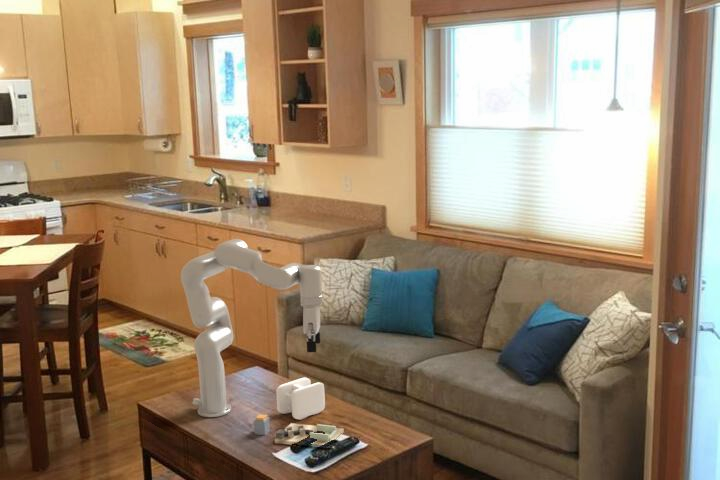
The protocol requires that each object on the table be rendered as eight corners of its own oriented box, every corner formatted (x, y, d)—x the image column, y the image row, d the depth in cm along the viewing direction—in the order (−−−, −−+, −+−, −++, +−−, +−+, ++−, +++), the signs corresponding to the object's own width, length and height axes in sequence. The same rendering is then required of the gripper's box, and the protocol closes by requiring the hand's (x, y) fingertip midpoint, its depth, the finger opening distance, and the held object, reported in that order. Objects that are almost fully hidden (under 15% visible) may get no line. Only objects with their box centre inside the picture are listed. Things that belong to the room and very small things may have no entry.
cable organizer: (293, 423, 284) (291, 392, 282) (276, 415, 292) (274, 385, 290) (325, 411, 294) (324, 382, 292) (308, 403, 302) (307, 375, 300)
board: (275, 442, 268) (274, 433, 268) (291, 426, 281) (290, 416, 281) (329, 449, 262) (329, 439, 262) (343, 431, 275) (343, 422, 275)
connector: (254, 434, 276) (253, 418, 275) (259, 429, 280) (258, 413, 279) (265, 435, 275) (264, 419, 274) (269, 430, 279) (269, 414, 278)
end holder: (309, 439, 268) (309, 433, 267) (317, 430, 275) (317, 424, 274) (329, 441, 265) (329, 435, 265) (337, 432, 272) (337, 426, 272)
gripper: (304, 294, 283) (307, 340, 286) (296, 307, 266) (299, 355, 269) (325, 294, 282) (327, 339, 286) (318, 307, 266) (321, 355, 269)
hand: (313, 347), depth 277 cm, fingers open, 9 cm apart
